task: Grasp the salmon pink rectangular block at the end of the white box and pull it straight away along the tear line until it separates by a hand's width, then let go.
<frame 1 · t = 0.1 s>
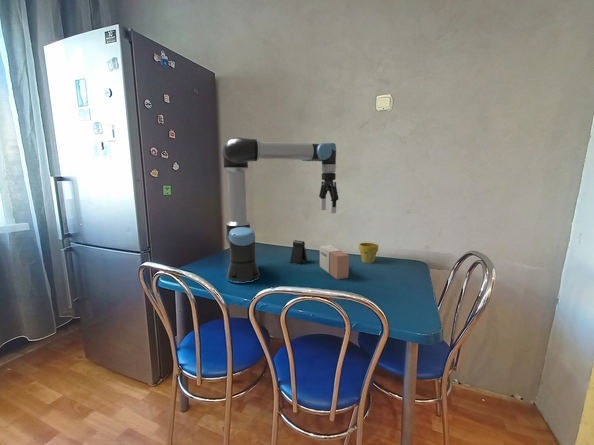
hand: (328, 211, 156), 28 cm above the table, fingers open, 13 cm apart
salmon pink rectangular block: (338, 264, 135), point 6 cm above the table, slide at 0.0 cm
white box: (329, 269, 146), on the table
plant pot: (368, 261, 159), on the table
black a-frame stand: (298, 262, 159), on the table
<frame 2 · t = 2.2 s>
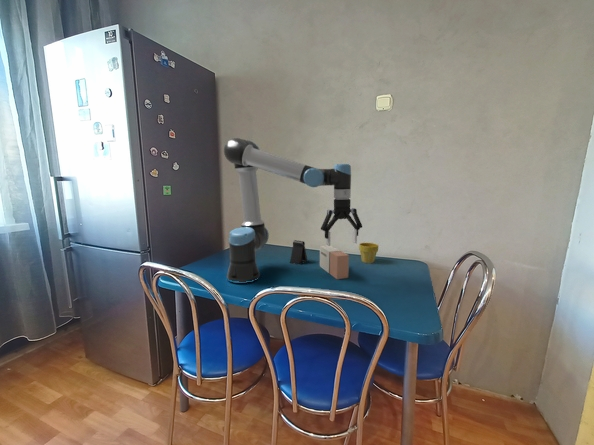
hand: (341, 244, 132), 16 cm above the table, fingers open, 13 cm apart
nothing on the table moved.
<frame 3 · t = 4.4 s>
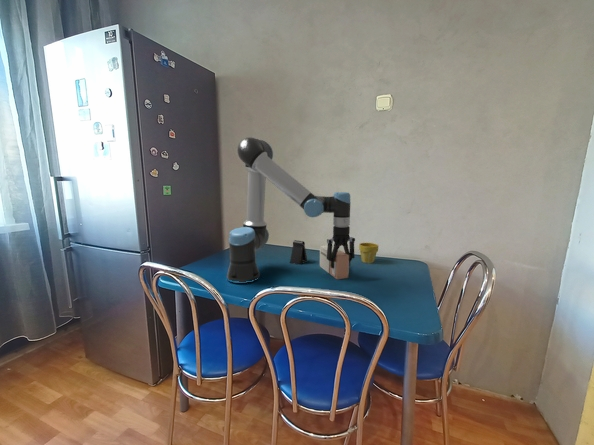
hand: (340, 273, 135), 2 cm above the table, fingers closed on salmon pink rectangular block, 6 cm apart
salmon pink rectangular block: (338, 264, 135), point 6 cm above the table, slide at 0.0 cm, touching gripper
everything else where it was.
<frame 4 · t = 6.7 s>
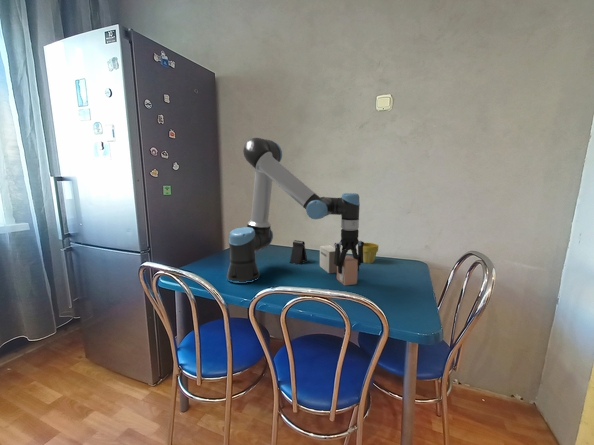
hand: (348, 279, 127), 2 cm above the table, fingers closed on salmon pink rectangular block, 6 cm apart
salmon pink rectangular block: (346, 269, 128), point 6 cm above the table, slide at 7.9 cm, touching gripper
everything else where it was.
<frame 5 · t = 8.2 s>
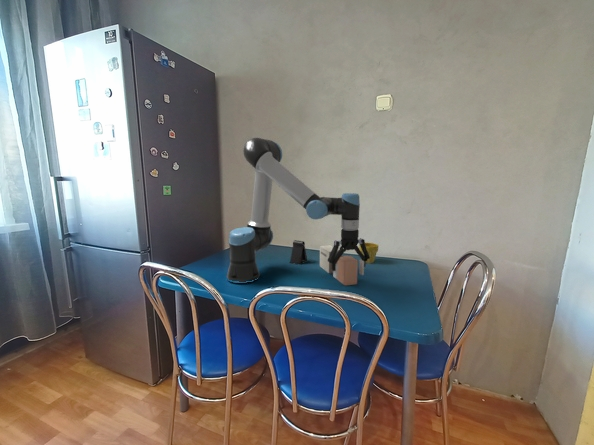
hand: (348, 275, 127), 3 cm above the table, fingers open, 12 cm apart
salmon pink rectangular block: (346, 269, 128), point 6 cm above the table, slide at 8.0 cm
everything else where it was.
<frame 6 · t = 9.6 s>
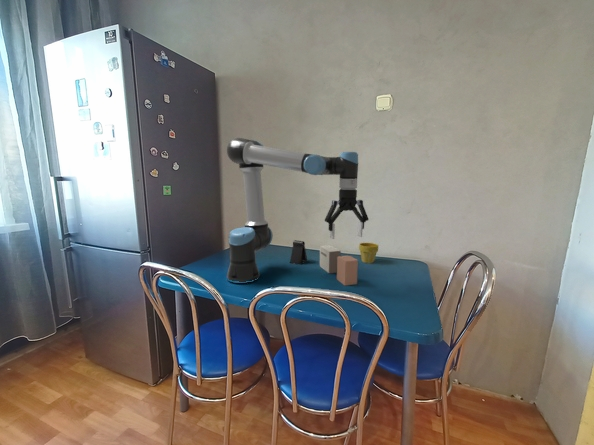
hand: (346, 237, 125), 21 cm above the table, fingers open, 13 cm apart
nothing on the table moved.
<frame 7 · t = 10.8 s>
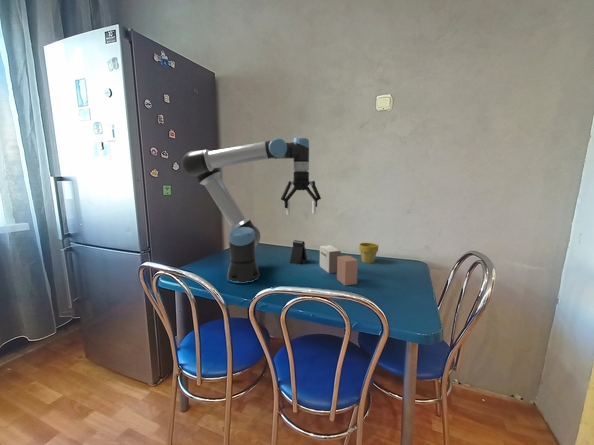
hand: (301, 214, 141), 29 cm above the table, fingers open, 13 cm apart
nothing on the table moved.
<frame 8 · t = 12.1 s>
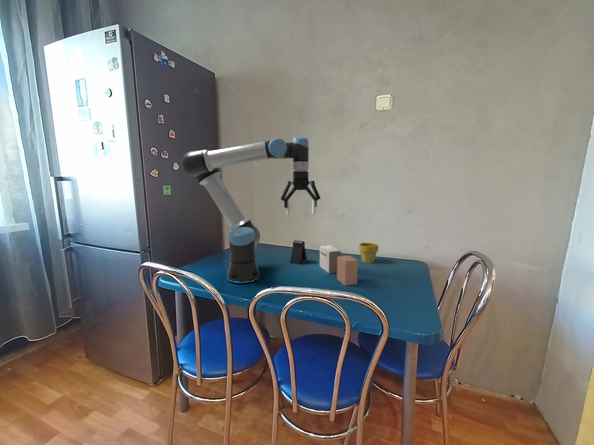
hand: (300, 214, 142), 29 cm above the table, fingers open, 13 cm apart
nothing on the table moved.
at the end: salmon pink rectangular block slide at 8.0 cm; the gripper is holding nothing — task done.
